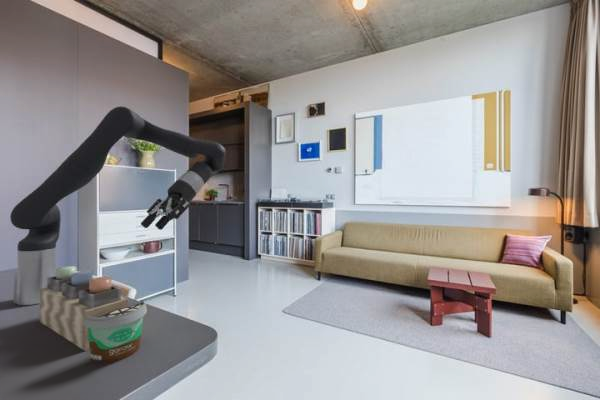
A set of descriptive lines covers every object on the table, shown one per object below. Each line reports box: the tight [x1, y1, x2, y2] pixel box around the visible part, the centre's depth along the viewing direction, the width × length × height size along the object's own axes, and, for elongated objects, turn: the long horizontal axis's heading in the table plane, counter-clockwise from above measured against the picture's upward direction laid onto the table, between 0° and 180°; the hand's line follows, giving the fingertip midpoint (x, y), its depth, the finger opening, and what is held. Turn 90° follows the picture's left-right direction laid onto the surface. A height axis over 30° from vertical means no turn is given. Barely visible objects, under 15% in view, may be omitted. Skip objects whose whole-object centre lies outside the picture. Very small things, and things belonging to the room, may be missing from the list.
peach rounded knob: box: [89, 276, 112, 294], centre depth 67 cm, size 4×4×3 cm
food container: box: [84, 299, 148, 364], centre depth 60 cm, size 12×6×10 cm, turn 148°
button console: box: [39, 275, 129, 352], centre depth 73 cm, size 28×9×12 cm, turn 59°
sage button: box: [55, 265, 78, 281], centre depth 78 cm, size 4×4×3 cm
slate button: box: [71, 270, 94, 287], centre depth 73 cm, size 4×4×3 cm
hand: (150, 226), depth 78 cm, fingers open, 6 cm apart
